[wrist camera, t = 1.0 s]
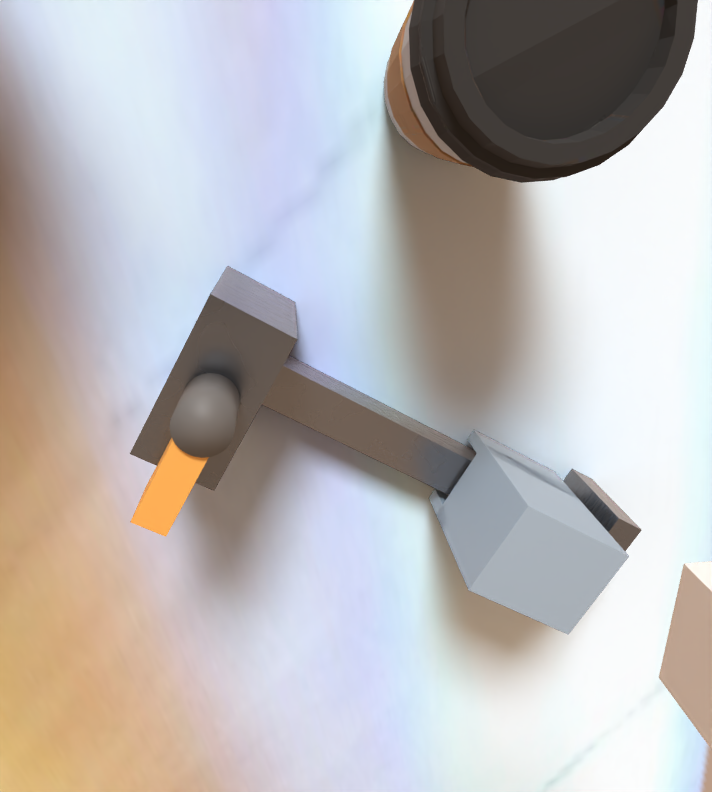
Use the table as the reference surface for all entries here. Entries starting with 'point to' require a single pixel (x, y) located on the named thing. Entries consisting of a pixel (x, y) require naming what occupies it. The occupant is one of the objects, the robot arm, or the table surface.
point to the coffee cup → (534, 79)
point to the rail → (368, 425)
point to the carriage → (525, 537)
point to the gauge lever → (189, 448)
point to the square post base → (603, 508)
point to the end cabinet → (226, 361)
